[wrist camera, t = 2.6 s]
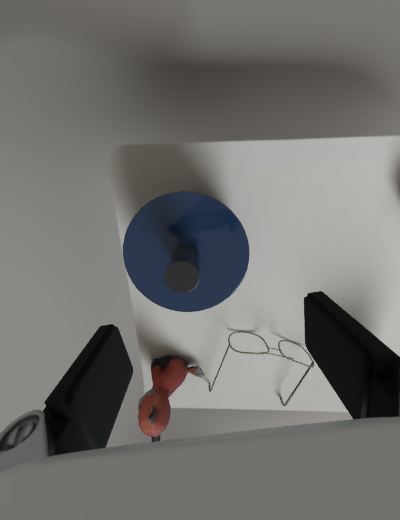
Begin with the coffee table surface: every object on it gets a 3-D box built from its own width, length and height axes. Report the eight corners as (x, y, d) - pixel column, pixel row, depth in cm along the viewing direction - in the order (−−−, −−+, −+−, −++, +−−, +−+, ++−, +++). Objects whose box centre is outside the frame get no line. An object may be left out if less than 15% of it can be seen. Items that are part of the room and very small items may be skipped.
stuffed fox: (206, 377, 43) (208, 446, 32) (154, 384, 44) (137, 453, 32) (200, 349, 41) (199, 411, 29) (145, 356, 41) (123, 420, 30)
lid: (110, 204, 23) (75, 211, 17) (239, 179, 22) (255, 176, 16) (144, 314, 28) (127, 352, 21) (252, 297, 27) (268, 332, 20)
